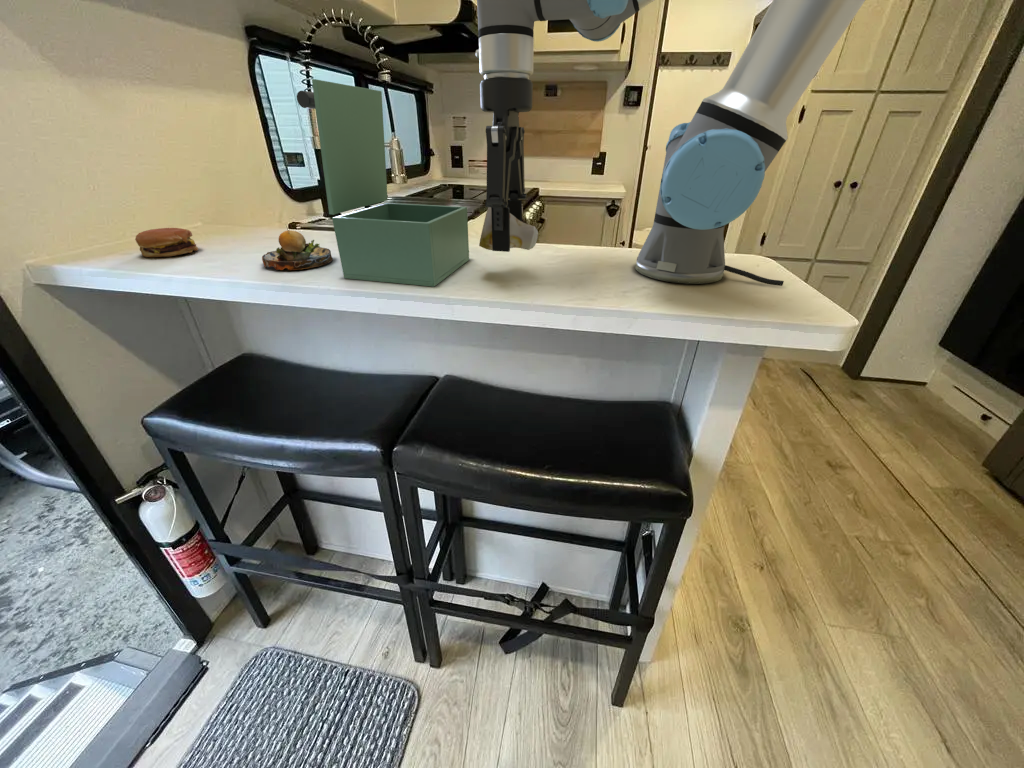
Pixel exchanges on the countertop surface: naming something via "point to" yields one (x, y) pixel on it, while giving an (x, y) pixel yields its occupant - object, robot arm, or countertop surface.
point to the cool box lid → (349, 143)
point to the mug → (519, 233)
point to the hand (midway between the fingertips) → (507, 244)
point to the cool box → (402, 243)
